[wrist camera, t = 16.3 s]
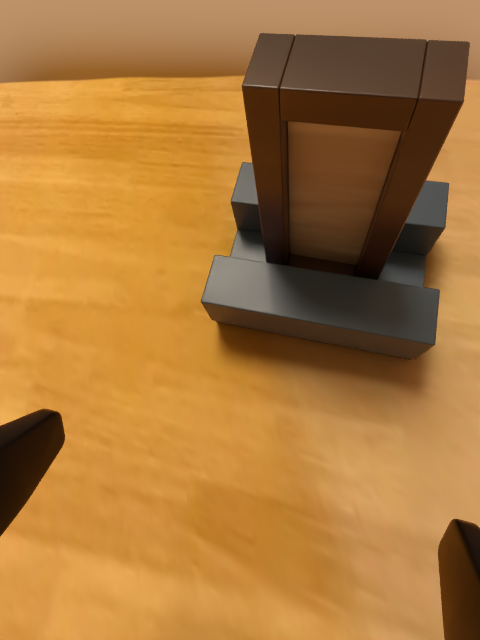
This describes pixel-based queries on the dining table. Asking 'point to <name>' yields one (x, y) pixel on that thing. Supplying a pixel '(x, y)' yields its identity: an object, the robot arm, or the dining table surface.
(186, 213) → the dining table surface
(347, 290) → the holder
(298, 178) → the frame
